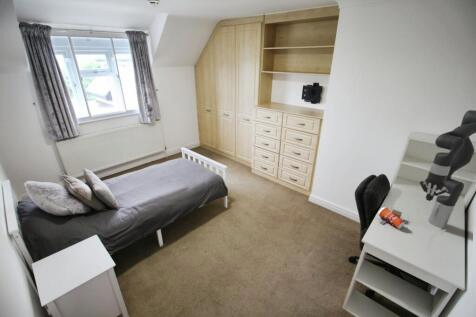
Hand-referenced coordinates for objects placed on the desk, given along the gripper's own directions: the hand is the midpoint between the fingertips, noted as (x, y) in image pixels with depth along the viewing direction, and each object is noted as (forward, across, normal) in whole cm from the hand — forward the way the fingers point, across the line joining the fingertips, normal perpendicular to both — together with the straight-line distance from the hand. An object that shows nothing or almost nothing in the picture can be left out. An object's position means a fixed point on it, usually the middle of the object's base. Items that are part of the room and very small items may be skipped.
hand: (428, 200), depth 124 cm
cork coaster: (+27, +17, -10) cm, 33 cm away
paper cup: (+24, +9, -2) cm, 26 cm away
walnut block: (+27, +17, -10) cm, 33 cm away
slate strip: (+27, +18, 0) cm, 32 cm away
